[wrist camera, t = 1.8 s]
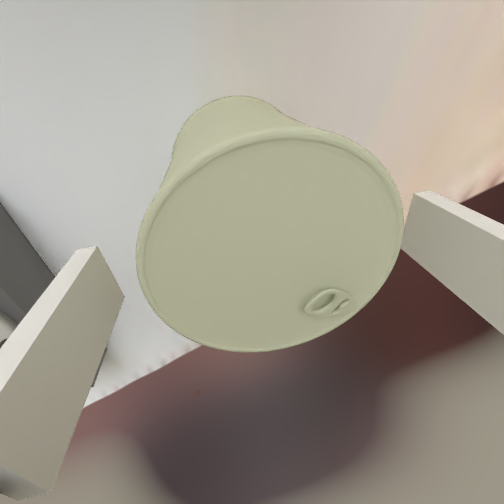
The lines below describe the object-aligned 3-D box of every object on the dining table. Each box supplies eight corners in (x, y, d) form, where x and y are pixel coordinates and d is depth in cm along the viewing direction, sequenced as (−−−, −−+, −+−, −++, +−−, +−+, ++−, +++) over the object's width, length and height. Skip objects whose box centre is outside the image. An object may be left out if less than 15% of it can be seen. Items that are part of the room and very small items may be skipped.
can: (254, 245, 22) (294, 381, 12) (149, 191, 18) (84, 329, 8) (327, 151, 18) (468, 237, 9) (216, 58, 14) (243, 19, 5)
